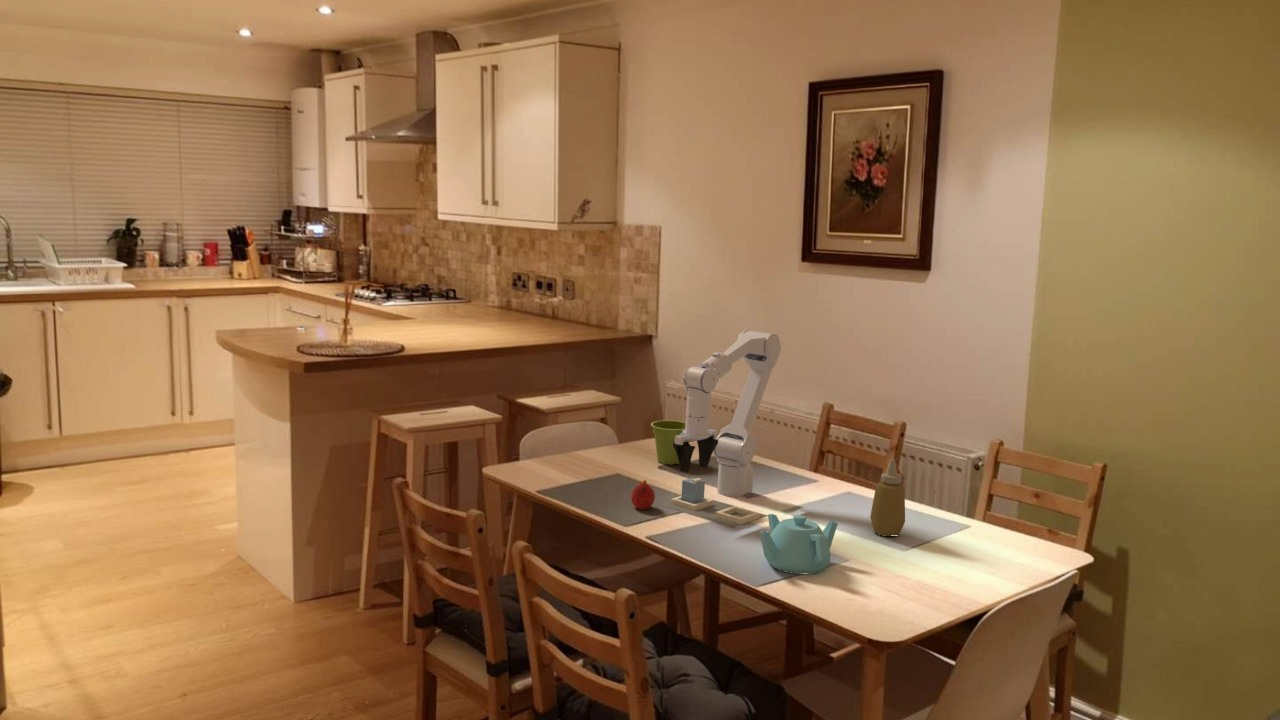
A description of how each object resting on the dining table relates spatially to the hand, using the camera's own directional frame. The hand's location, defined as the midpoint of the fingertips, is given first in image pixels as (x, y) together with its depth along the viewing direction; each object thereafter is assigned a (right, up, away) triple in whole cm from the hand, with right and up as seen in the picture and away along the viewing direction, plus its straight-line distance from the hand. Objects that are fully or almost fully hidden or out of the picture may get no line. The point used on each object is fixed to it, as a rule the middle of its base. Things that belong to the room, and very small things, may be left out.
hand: (694, 469), depth 252 cm
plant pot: (-5, -3, +45) cm, 46 cm away
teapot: (+20, -17, -35) cm, 44 cm away
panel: (+5, -11, -3) cm, 12 cm away
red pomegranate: (-13, -10, -3) cm, 17 cm away
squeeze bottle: (+45, -14, -12) cm, 49 cm away
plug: (0, -9, +1) cm, 9 cm away
